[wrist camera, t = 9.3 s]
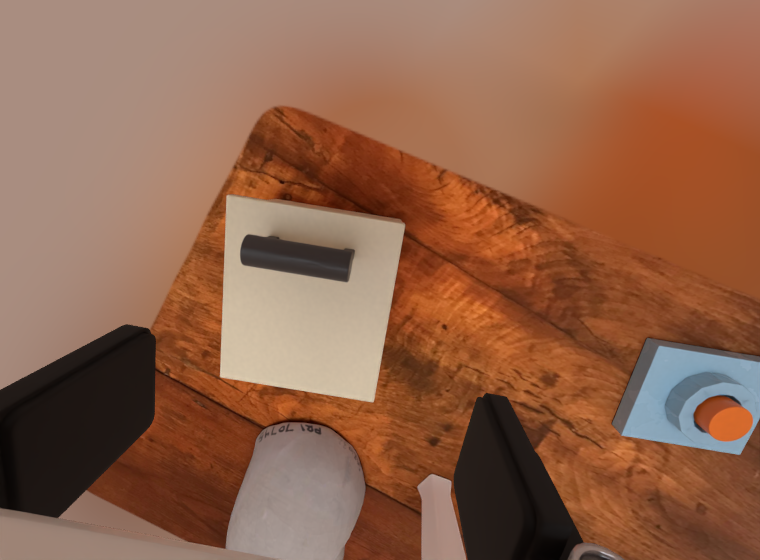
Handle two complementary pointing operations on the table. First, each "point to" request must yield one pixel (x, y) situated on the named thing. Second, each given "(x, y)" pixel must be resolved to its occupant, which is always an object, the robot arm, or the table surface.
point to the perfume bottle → (439, 521)
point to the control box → (686, 393)
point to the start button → (723, 418)
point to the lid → (306, 296)
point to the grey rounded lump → (298, 495)
